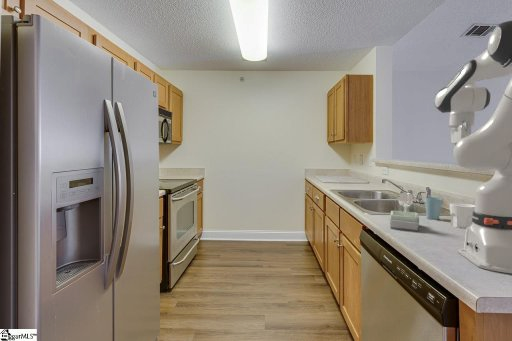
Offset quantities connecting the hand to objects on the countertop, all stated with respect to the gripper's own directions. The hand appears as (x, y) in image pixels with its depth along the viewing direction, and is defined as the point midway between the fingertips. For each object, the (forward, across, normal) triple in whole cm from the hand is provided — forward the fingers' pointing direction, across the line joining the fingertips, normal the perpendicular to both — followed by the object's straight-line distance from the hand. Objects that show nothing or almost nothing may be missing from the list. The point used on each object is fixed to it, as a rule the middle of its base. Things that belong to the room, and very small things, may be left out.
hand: (459, 154), depth 131 cm
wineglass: (+30, -2, +20) cm, 36 cm away
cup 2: (+33, +9, -4) cm, 35 cm away
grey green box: (+33, -3, +20) cm, 39 cm away
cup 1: (+33, +22, +6) cm, 40 cm away
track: (+33, 0, +20) cm, 39 cm away
